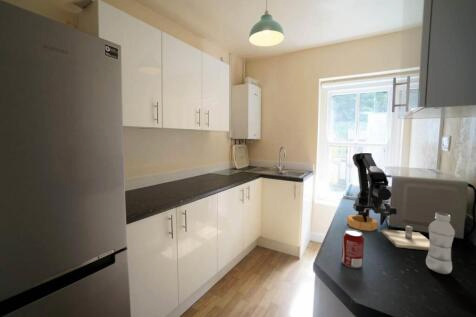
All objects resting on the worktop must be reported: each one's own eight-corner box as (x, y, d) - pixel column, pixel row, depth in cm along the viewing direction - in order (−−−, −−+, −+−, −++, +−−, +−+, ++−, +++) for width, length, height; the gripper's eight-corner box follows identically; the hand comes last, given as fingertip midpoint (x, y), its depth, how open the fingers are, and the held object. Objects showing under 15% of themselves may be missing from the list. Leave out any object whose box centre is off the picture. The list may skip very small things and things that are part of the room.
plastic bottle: (450, 279, 71) (455, 219, 69) (423, 269, 76) (427, 213, 74) (452, 272, 75) (458, 215, 73) (427, 263, 80) (431, 210, 78)
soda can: (365, 271, 75) (367, 237, 74) (344, 268, 76) (345, 235, 75) (358, 260, 82) (360, 229, 80) (339, 258, 83) (340, 227, 82)
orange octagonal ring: (345, 220, 123) (345, 214, 123) (370, 222, 120) (371, 216, 120) (351, 229, 110) (352, 222, 110) (380, 231, 107) (380, 224, 107)
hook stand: (381, 231, 108) (381, 218, 107) (418, 235, 104) (419, 222, 103) (396, 246, 92) (397, 232, 92) (441, 251, 89) (442, 236, 88)
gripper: (360, 198, 107) (358, 228, 108) (403, 200, 103) (401, 232, 104) (353, 192, 118) (352, 220, 119) (392, 195, 113) (390, 224, 115)
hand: (373, 224), depth 114 cm, fingers open, 7 cm apart
